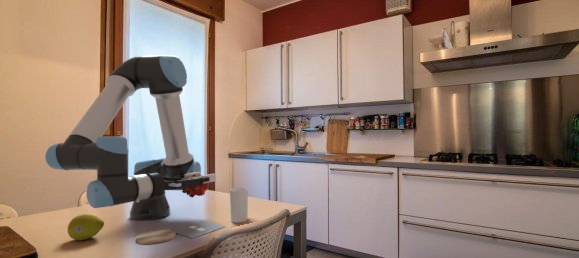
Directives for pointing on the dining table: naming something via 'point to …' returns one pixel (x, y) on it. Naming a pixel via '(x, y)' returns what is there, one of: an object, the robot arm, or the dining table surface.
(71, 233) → the green mango
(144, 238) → the coaster
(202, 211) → the dining table surface
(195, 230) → the grey square tile
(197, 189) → the dragon fruit
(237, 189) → the mug
